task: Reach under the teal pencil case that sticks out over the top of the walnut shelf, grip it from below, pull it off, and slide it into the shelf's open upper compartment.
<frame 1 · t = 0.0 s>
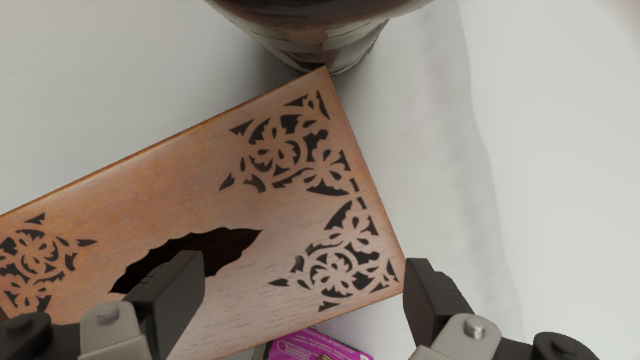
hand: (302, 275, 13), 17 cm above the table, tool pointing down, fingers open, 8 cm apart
candy bar box: (314, 347, 34), on the table
tissue box cover: (230, 210, 31), on the table
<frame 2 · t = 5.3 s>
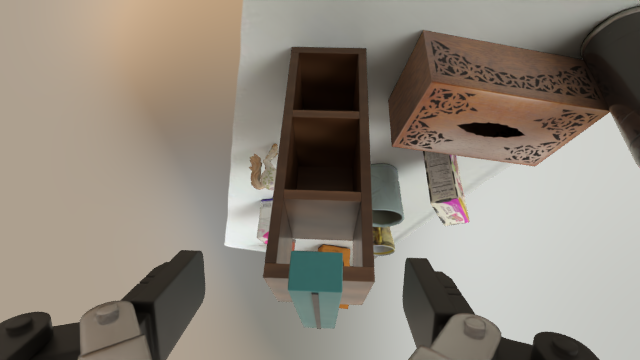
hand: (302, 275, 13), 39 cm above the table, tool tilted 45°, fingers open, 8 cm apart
coffee package: (333, 247, 131), on the table
candy bar box: (438, 140, 70), on the table
unicorn figurine: (290, 139, 72), on the table
ceramic cup: (377, 217, 105), on the table
shelf: (328, 80, 57), on the table
supplement box: (274, 202, 99), on the table
grey flower pot: (378, 172, 82), on the table
tissue box cover: (478, 81, 56), on the table
pencil case: (318, 284, 36), point 34 cm above the table, touching shelf
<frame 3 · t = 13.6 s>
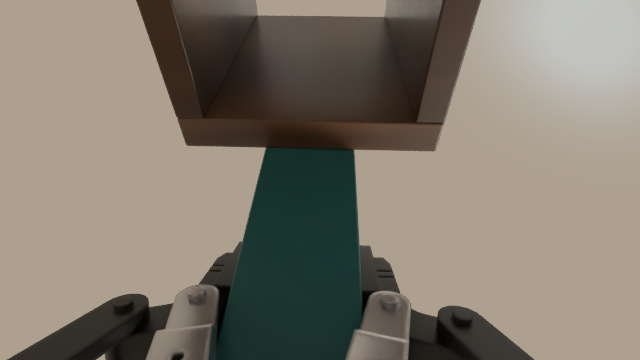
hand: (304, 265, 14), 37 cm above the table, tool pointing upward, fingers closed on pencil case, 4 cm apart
pencil case: (312, 123, 17), point 35 cm above the table, touching gripper, shelf
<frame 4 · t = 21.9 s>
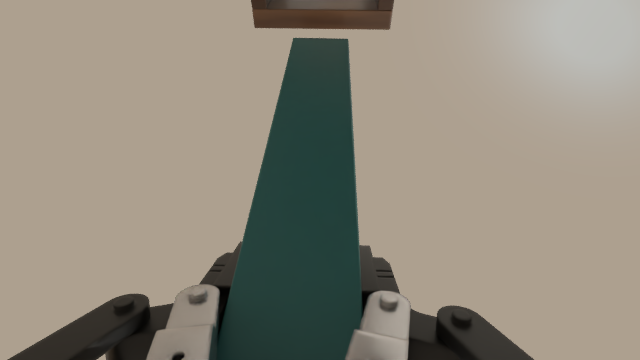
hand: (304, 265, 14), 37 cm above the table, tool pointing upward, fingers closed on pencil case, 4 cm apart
pencil case: (312, 124, 17), point 34 cm above the table, touching gripper
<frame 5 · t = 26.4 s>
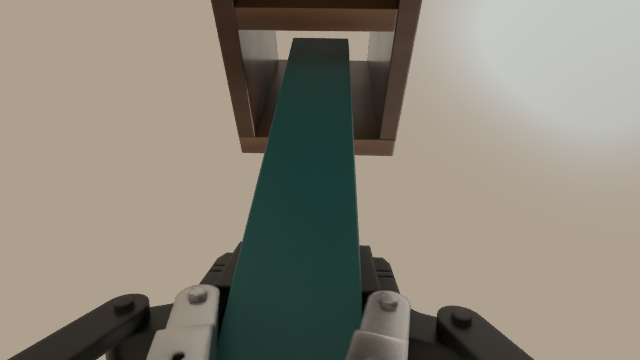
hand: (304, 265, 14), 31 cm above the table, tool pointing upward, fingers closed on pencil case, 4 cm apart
pencil case: (312, 124, 17), point 28 cm above the table, touching gripper
when the fingers open (29 cm above the table, at t = 30.5 s): pencil case stays where it is, resting on shelf.
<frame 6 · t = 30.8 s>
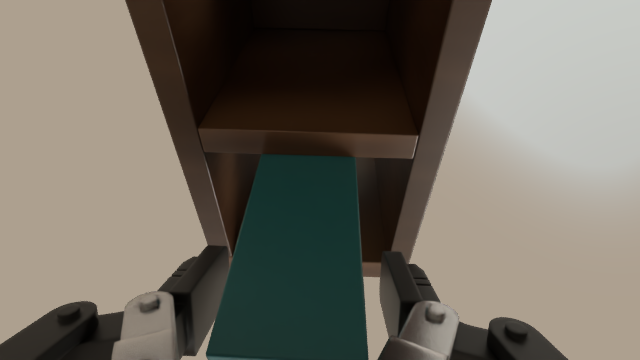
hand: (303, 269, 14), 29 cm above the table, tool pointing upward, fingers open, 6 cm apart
pencil case: (312, 119, 16), point 26 cm above the table, touching shelf
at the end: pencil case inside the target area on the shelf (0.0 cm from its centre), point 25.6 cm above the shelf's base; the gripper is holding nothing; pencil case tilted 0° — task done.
